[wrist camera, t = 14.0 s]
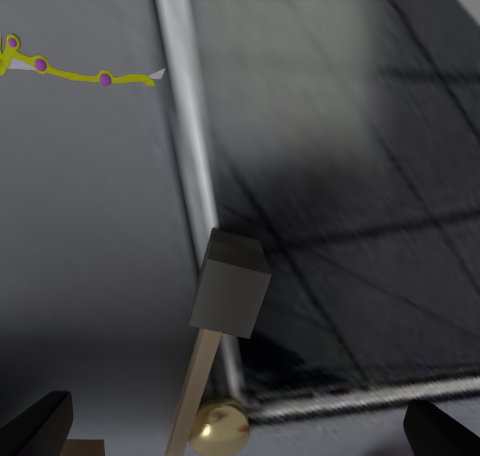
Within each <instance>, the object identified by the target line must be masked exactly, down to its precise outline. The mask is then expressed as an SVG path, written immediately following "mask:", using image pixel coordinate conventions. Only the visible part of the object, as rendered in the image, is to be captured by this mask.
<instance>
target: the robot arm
mask: <svg viewBox="0 0 480 456" xmlns="http://www.w3.org/2000/svg"><path fill="white" fill-rule="evenodd" d="M72 422H73V406H72V396H71V393H70V392H69V391H61V390H55V391H52V392H50V393H48V394H47V395H45V396H44V397H43V398H41V399H40V400H39V401H37V402H36V403H34V404H33V405H32V406H30V407H29V408H28V409H26V410H25V411H24V412H22V413H21V414H19V415H18V416H17V417H15V418H14V419H13V420H11V421H10V422H8V423H7V424H6V425H4V426H3V427H2V428H0V456H60V453H61V451H62V448H63V446H64V443H65V441H66V438H67V436H68V433H69V431H70V428H71V426H72ZM403 427H404V431H405V434H406V437H407V439H408V441H409V444H410V446H411V449H412V451H413V453H414V456H480V437H478V436H477V435H476V434H474V433H473V432H471V431H470V430H469V429H467V428H466V427H464V426H463V425H462V424H460V423H459V422H457V421H456V420H455V419H453V418H452V417H450V416H449V415H448V414H446V413H445V412H443V411H442V410H440V409H439V408H438V407H436V406H435V405H433V404H432V403H431V402H429V401H427V400H411V401H410V402H409V405H408V408H407V411H406V415H405V418H404V422H403Z"/></svg>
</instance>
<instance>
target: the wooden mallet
mask: <svg viewBox="0 0 480 456" xmlns="http://www.w3.org/2000/svg"><path fill="white" fill-rule="evenodd" d="M271 276H272V274H271V271H270V269H269V266H268V263H267V261H266V258H265V255H264V252H263V250H262V247H261V244H260V242H259V240H256V239H252V238H248V237H245V236H241V235H237V234H233V233H230V232H226V231H222V230H218V229H215V228H212V231H211V235H210V238H209V242H208V245H207V249H206V253H205V256H204V260H203V263H202V267H201V270H200V274H199V278H198V282H197V287H196V292H195V297H194V302H193V307H192V312H191V317H190V322H189V326H193V327H198V328H200V329H199V333H198V336H197V339H196V343H195V346H194V350H193V353H192V356H191V360H190V363H189V367H188V370H187V373H186V377H185V380H184V383H183V387H182V390H181V394H180V397H179V400H178V404H177V407H176V411H175V414H174V417H173V421H172V424H171V428H170V431H169V434H168V439H167V444H166V449H165V454H164V456H183V454H184V451H185V447H186V444H187V441H188V438H189V435H190V432H191V429H192V426H193V422H194V419H195V416H196V413H197V410H198V407H199V404H200V401H201V397H202V394H203V391H204V388H205V385H206V382H207V379H208V376H209V372H210V369H211V366H212V363H213V360H214V357H215V354H216V351H217V347H218V344H219V341H220V338H221V335H222V333H225V334H229V335H234V336H239V337H243V338H248V339H250V336H251V333H252V330H253V327H254V325H255V322H256V319H257V316H258V313H259V310H260V307H261V305H262V302H263V299H264V296H265V293H266V290H267V287H268V285H269V282H270V279H271Z"/></svg>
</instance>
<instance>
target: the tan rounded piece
mask: <svg viewBox="0 0 480 456" xmlns="http://www.w3.org/2000/svg"><path fill="white" fill-rule="evenodd" d="M248 439H249V422H248V413H247V410H246V408H245V407H244V405H243V404H242V403H241V402H240V401H238V400H237V399H235V398H232V397H229V396H223V395H217V396H211V397H207V398H205V399H203V400H201V401H200V404H199V407H198V410H197V413H196V416H195V419H194V422H193V426H192V429H191V432H190V435H189V438H188V441H189V444H190V445H191V447H192V448H193V449H194V450H195V451H196V452H198V453H199V454H201V455H203V456H231V455H233V454H235V453H237V452H239V451H240V450H241V449H242V448H243V447H244V446H245V445H246V443H247V441H248Z"/></svg>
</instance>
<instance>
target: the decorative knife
mask: <svg viewBox="0 0 480 456" xmlns="http://www.w3.org/2000/svg"><path fill="white" fill-rule="evenodd" d="M1 44H2V40H1V31H0V75H4V73H5V71H6V70H7V69H8V68H11V69H26V70H36V71H37V72H38V73H40V74H46V73H51V74H54V75H58V76H61V77H64V78H68V79H71V80H77V81H91V82H101V84H102V85H104V86H109V85H110V84H111V83H125V82H145V83H146V85H155V84H154V82H153V80H152V79H161V77H162V75H163V73H164V71H165V68H164V69H162V70H160V71H158V72H156V73H154V74H151V75H149V76H146V75H143V74H131V75H125V76H122V77H117V78H114V76H113V75H112V74H111V73H110V72H109V71H106V70H102V71H101V72H100V73H99V74H98V75H97V76H83V75H80V74H77V73H68V72H63V71H60V70H57V69H55V68H53V67H52V66H50V64H49V62H48V60H47V59H46V58H45V57H43V56H41V55H35V56H34V57H29V56H26V55H24V54H22V53H20V52H18V51H17V50H18V49H19V47H20V41H19V39H18V38H17V36H15V35H13V34H10V35H8V36H7V40H6V48H5V50H4V52H3V54H2V51H1Z"/></svg>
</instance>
